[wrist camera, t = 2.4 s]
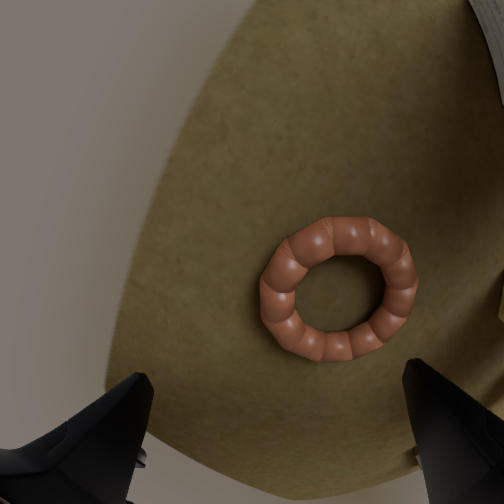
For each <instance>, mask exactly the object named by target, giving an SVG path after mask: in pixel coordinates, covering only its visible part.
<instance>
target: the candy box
mask: <svg viewBox="0 0 504 504" xmlns="http://www.w3.org/2000/svg"><path fill="white" fill-rule="evenodd" d="M498 317H499V318H500V319H501V320H502V322H503V323H504V282H503V289H502V295H501V301H500V306H499V311H498Z"/></svg>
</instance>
